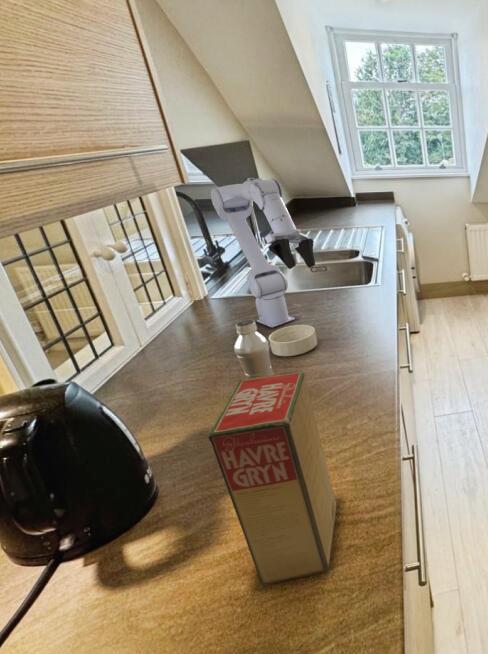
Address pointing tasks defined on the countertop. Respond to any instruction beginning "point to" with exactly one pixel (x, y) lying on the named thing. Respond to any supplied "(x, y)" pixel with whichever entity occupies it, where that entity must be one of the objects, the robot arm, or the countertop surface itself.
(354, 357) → the countertop surface
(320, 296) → the countertop surface
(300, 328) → the bowl
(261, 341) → the plastic bottle
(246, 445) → the food packaging
